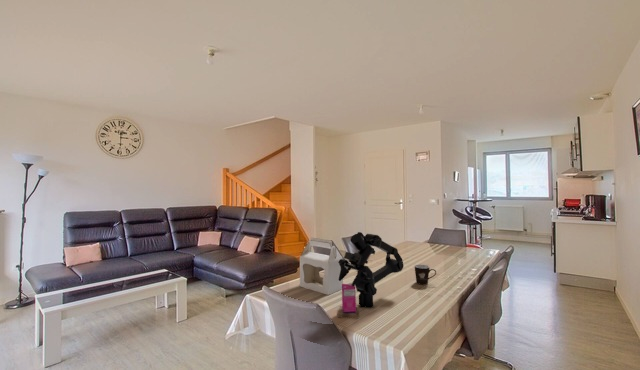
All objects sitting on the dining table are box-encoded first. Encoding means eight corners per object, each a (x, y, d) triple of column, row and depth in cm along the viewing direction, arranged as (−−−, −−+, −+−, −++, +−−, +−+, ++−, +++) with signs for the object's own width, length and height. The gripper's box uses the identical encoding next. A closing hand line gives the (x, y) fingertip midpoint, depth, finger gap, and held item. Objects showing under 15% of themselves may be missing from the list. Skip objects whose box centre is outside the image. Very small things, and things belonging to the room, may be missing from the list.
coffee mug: (412, 283, 179) (411, 266, 179) (418, 279, 185) (418, 263, 185) (431, 287, 171) (431, 270, 171) (437, 283, 178) (436, 267, 178)
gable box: (299, 286, 174) (299, 238, 174) (314, 280, 184) (314, 235, 184) (328, 295, 160) (328, 243, 160) (343, 288, 170) (343, 239, 170)
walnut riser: (358, 310, 140) (358, 307, 140) (358, 318, 132) (358, 315, 132) (339, 309, 142) (339, 305, 142) (337, 317, 133) (337, 314, 133)
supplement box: (341, 307, 140) (341, 283, 140) (354, 307, 140) (354, 283, 140) (343, 313, 134) (343, 287, 134) (356, 313, 134) (356, 287, 134)
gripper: (341, 242, 149) (323, 268, 142) (368, 248, 134) (350, 277, 127) (352, 256, 154) (336, 281, 147) (380, 263, 139) (363, 292, 132)
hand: (345, 283), depth 138 cm, fingers open, 9 cm apart
